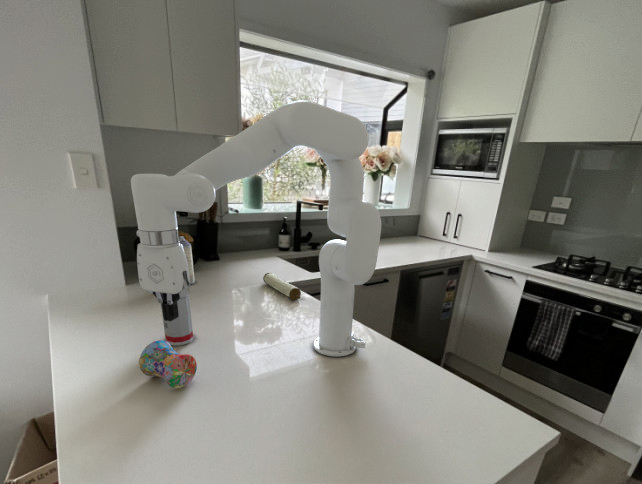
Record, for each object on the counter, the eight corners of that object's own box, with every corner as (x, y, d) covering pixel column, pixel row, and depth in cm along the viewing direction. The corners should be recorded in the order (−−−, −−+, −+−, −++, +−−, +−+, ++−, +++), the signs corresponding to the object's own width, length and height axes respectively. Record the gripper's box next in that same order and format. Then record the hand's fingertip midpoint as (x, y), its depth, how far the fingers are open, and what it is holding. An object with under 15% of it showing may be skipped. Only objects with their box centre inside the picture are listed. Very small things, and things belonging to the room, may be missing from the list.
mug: (178, 349, 84) (149, 335, 89) (160, 388, 83) (132, 372, 88) (213, 360, 95) (185, 347, 100) (197, 395, 94) (170, 380, 99)
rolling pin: (259, 282, 170) (259, 271, 168) (271, 280, 172) (271, 269, 170) (293, 304, 145) (293, 291, 143) (306, 302, 147) (306, 289, 146)
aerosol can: (197, 281, 167) (192, 235, 160) (190, 285, 161) (186, 238, 153) (182, 280, 168) (177, 234, 160) (175, 284, 162) (169, 237, 154)
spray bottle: (164, 346, 109) (152, 261, 99) (167, 335, 115) (156, 255, 106) (193, 344, 111) (184, 260, 101) (193, 333, 117) (185, 254, 108)
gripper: (116, 237, 77) (132, 320, 84) (179, 244, 73) (190, 330, 80) (142, 231, 83) (155, 309, 91) (201, 237, 79) (209, 317, 87)
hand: (171, 318), depth 85 cm, fingers closed
